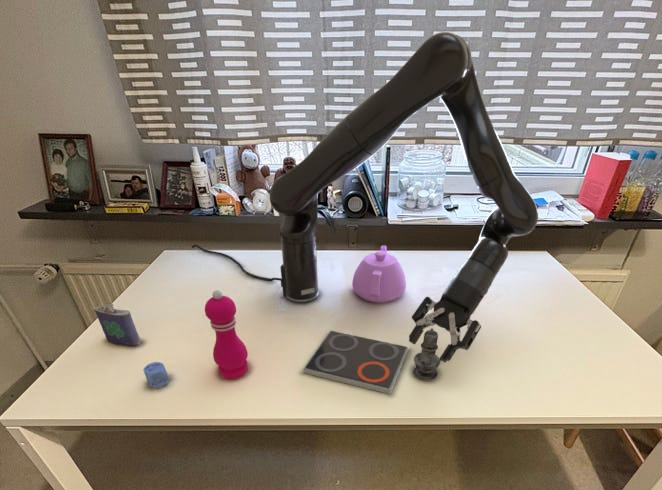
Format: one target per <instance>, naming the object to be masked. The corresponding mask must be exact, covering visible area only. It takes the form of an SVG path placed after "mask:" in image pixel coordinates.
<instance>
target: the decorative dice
mask: <svg viewBox="0 0 662 490" xmlns="http://www.w3.org/2000/svg"><path fill="white" fill-rule="evenodd" d="M142 371H143V374H144V376H145V378H146V381H147V384H148V386H149V387H150V388H154V389H157V388H159V389H160V388H162V387H164V386H166V385H167V384H168V383H169V381H170V377H169V374H168V372H167V369H166V367H165V365H164V363H163V362H159V361H153V362H150V363H147V365H145V367H144V368H143V369H142Z"/></svg>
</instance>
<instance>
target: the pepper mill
mask: <svg viewBox="0 0 662 490" xmlns="http://www.w3.org/2000/svg"><path fill="white" fill-rule="evenodd" d="M204 314H205V316H206V317H207V319H208V320H209V323H210V327H211V329H212V330H214V332H215V342H214V346H213V351H212V357H213V361H214V363H215V364H216V365H217V367H218V372H219V375H220V376H221V377H222V378H224V379H228V380H235V379H239V378H241V377H243V376H244V375H246V374H247V372H248V370H249V365H248V357H249V353H248V349H247V347H246V345H245V343H244V342H243V340H242V339H241V338H240V337H239V336H238V334H237V332H236V325H237V320H236V314H237V306H236V303H235V301H234V300H233V299H232V298H230V296H227V295H223V293H222V292H221V290H214V291H213V292H212V297H210V298H209V299H208V300H206V302H205V305H204Z"/></svg>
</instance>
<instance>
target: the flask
mask: <svg viewBox="0 0 662 490" xmlns="http://www.w3.org/2000/svg"><path fill="white" fill-rule="evenodd" d="M94 313H95V315H96V317H97V319H98V322H99V324H100V326H101V329H102V331H103V333H104V336H105V338H106V341H107V342H108V343H110V344H112V345H116V346H123V347H134V348H135V347H139V346H140V345H141V344H142V340H141V338H140V335H139V333H138V330H137V327H136V325H135V323H134V320H133V317H132V314H131V312H130V311H129V310H127V309H117V308H114V303H112V302H110V304H109V303H105V304H102V305H99V306H96V307H94Z"/></svg>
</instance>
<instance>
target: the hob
mask: <svg viewBox="0 0 662 490" xmlns="http://www.w3.org/2000/svg"><path fill="white" fill-rule="evenodd" d="M408 352H409V346H406V345H402V344H401V345H400V344H395V343H391V342H386V341H381V340H377V339H373V338H367V337H363V336H357V335H353V334H349V333H344V332H340V331H334V330H330V331H329V332H328V333H327V334H326V336H325V338H324V339H323V340H322V342H321V343H320V345H319V346H318V347H317V349H316V350H315V352H314V353H313V355H312V356H311V357H310V359H309V360H308V362H307V363H306V364H305V366H304V367H303V370H302V371H303V373H304V374H306V375H311V376H315V377H319V378H322V379H327V380H330V381H331V380H332V381H336V382H339V383H343V384H347V385H351V386H356V387H361V388H363V389H368V390H372V391H376V392H380V393H384V394H388V395H391V393H392V391H393V388H394V386H395V384H396V381H397V380H398V377H399V375H400V371H401V370H402V367H403V364H404V362H405V360H406V358H407V354H408Z"/></svg>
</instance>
